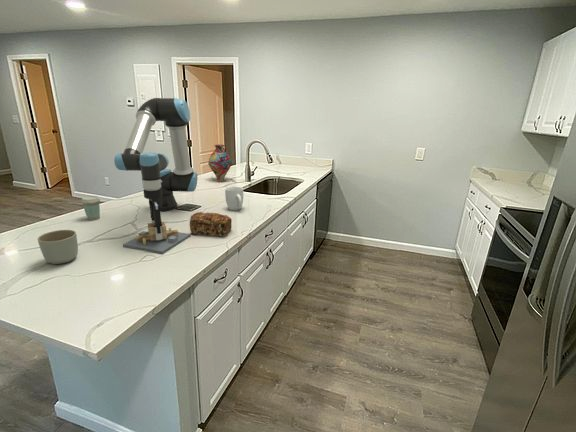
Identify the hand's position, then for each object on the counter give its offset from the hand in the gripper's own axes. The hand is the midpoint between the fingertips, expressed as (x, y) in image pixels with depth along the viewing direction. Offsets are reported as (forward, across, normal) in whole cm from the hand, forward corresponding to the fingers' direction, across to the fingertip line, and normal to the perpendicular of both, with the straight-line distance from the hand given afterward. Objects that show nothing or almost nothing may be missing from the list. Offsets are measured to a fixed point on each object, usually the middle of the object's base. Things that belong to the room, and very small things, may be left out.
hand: (157, 236), depth 147 cm
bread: (+3, 0, -26) cm, 26 cm away
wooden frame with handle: (0, 0, 0) cm, 0 cm away
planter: (+3, -2, +37) cm, 37 cm away
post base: (+2, 0, 0) cm, 2 cm away
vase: (+2, +107, -68) cm, 126 cm away
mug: (+3, +30, -50) cm, 59 cm away
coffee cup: (+3, +47, +25) cm, 54 cm away
